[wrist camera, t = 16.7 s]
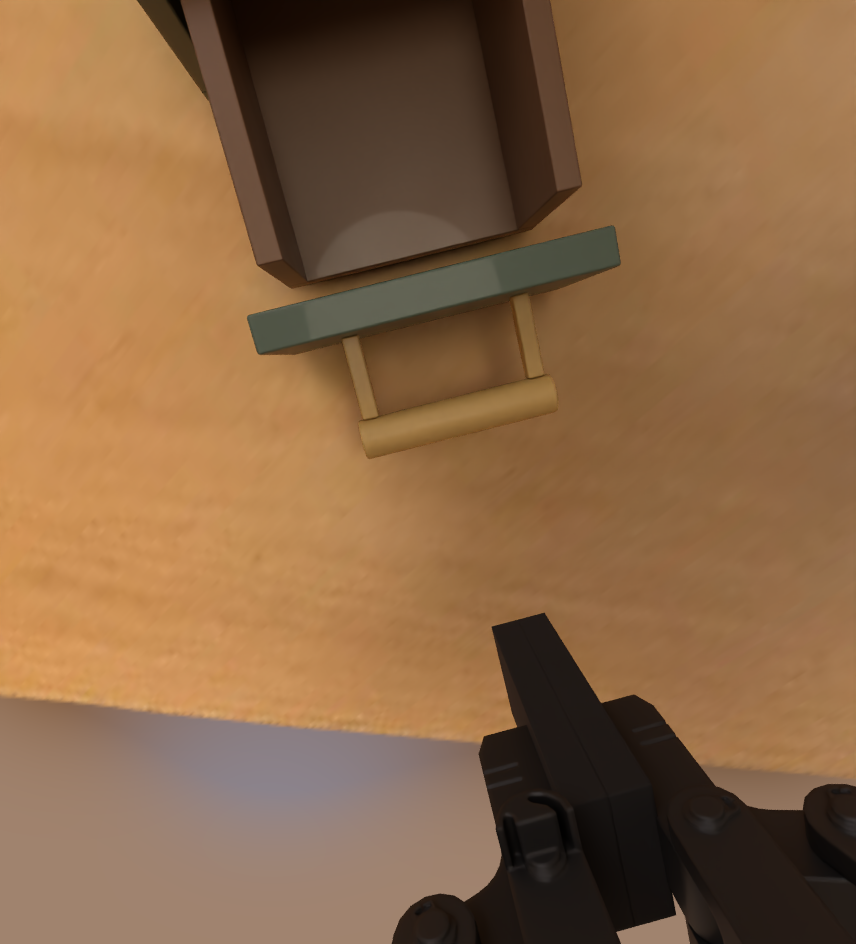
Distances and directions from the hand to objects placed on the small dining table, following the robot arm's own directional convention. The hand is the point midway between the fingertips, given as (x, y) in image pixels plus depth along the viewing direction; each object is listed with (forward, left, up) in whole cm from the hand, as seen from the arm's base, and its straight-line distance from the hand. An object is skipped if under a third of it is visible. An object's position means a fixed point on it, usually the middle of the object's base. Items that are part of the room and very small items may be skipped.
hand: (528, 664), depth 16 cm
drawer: (+15, 0, -11) cm, 18 cm away
